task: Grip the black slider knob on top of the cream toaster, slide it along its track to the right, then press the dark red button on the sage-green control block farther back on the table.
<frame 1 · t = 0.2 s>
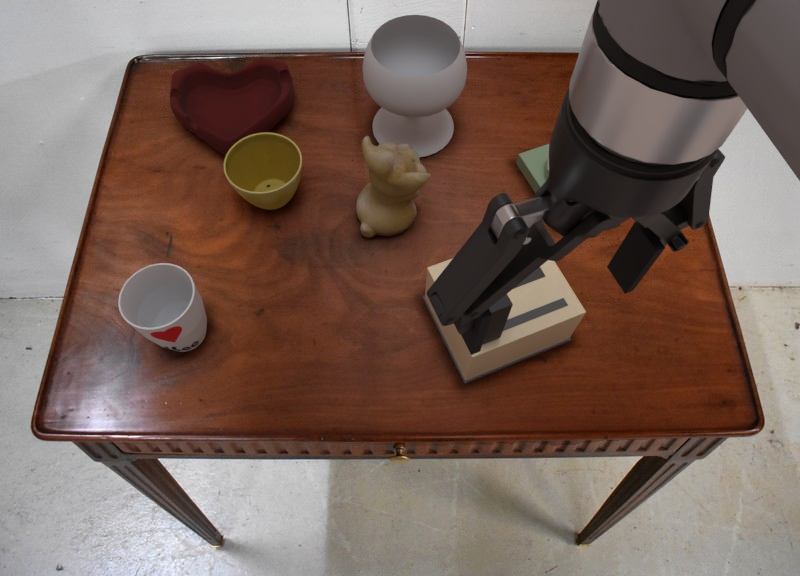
hand: (545, 307, 47), 25 cm above the table, tool pointing down, fingers open, 13 cm apart
figurine: (392, 219, 81), on the table
toaster slider: (490, 316, 61), point 12 cm above the table, slide at 0.0 cm
flower pot: (273, 196, 83), on the table
cup: (186, 333, 73), on the table
start button: (575, 163, 80), point 4 cm above the table, slide at 0.1 cm
chalice: (413, 128, 89), on the table
toaster: (495, 319, 74), on the table
control block: (566, 183, 84), on the table
ashtray: (238, 123, 89), on the table
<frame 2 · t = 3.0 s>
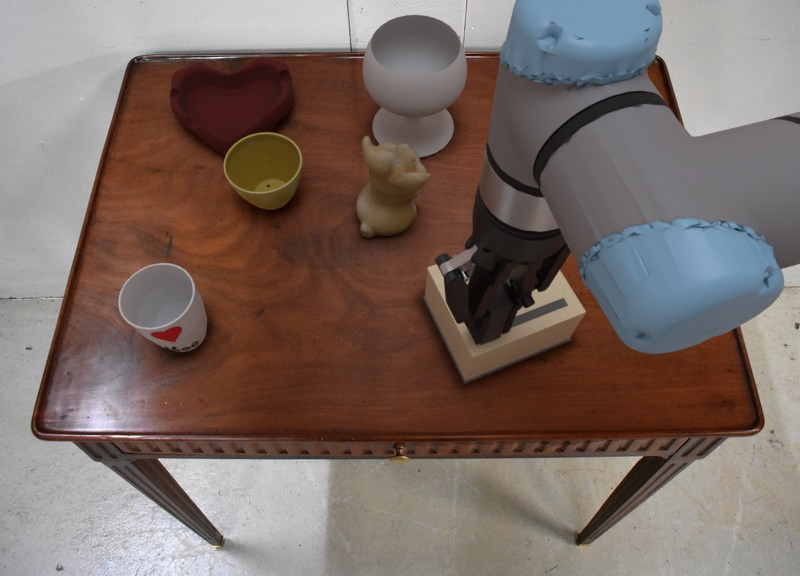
hand: (487, 327, 63), 10 cm above the table, tool pointing down, fingers closed on toaster slider, 2 cm apart
toaster slider: (490, 316, 61), point 12 cm above the table, slide at 0.0 cm, touching gripper
everything else where it was.
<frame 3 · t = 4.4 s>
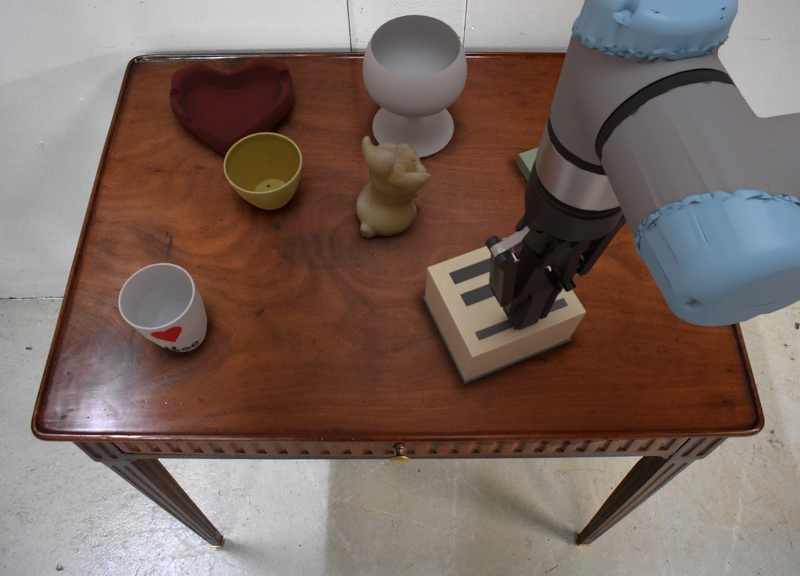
hand: (524, 312, 64), 10 cm above the table, tool pointing down, fingers closed on toaster slider, 2 cm apart
toaster slider: (529, 301, 61), point 12 cm above the table, slide at 4.5 cm, touching gripper
everything else where it was.
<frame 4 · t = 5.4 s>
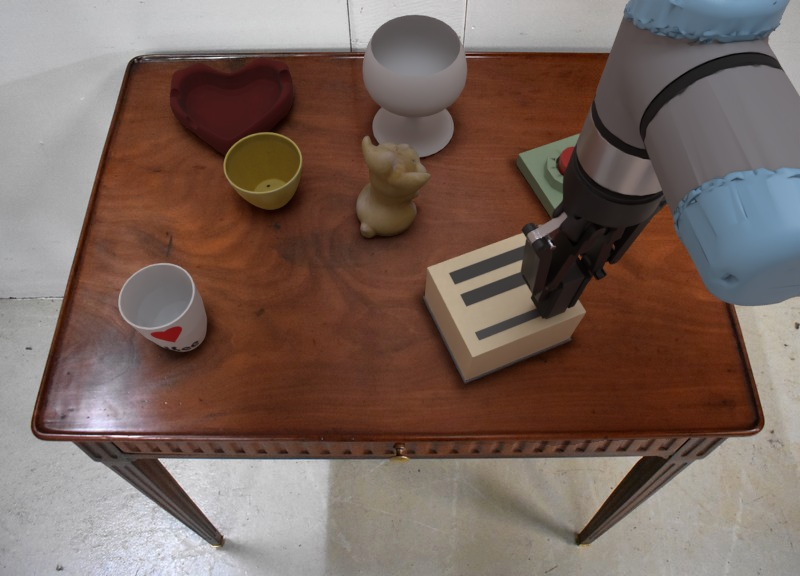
hand: (552, 301, 64), 9 cm above the table, tool pointing down, fingers closed on toaster slider, 2 cm apart
toaster slider: (558, 289, 62), point 12 cm above the table, slide at 7.9 cm, touching gripper
everything else where it was.
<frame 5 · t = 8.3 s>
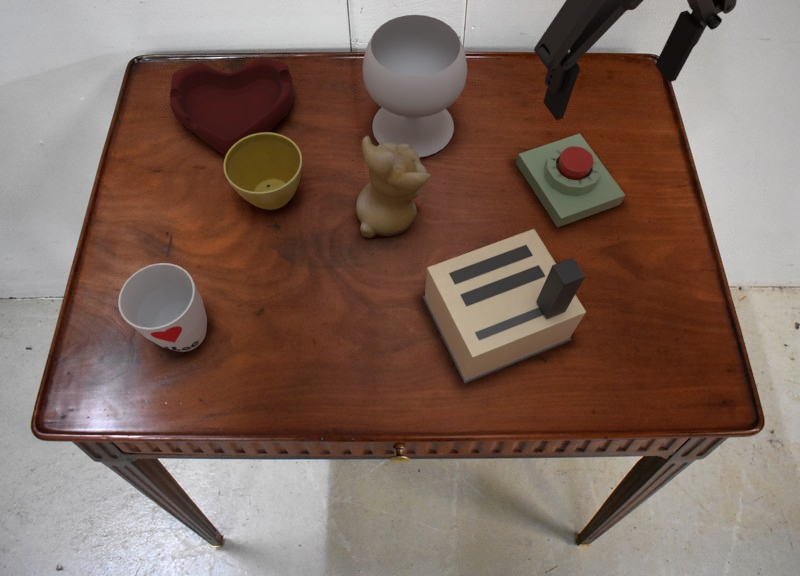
hand: (610, 91, 62), 22 cm above the table, tool pointing down, fingers open, 13 cm apart
toaster slider: (559, 289, 62), point 12 cm above the table, slide at 8.0 cm
everything else where it was.
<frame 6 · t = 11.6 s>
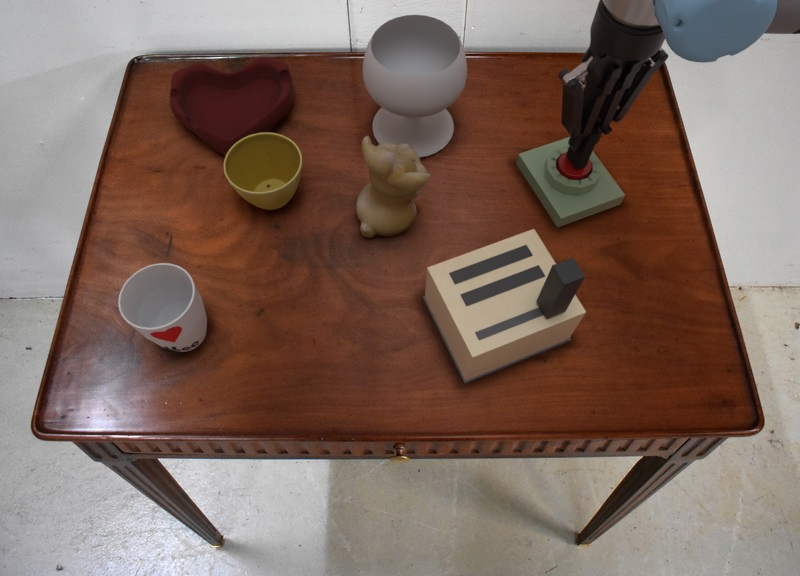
hand: (575, 161, 80), 5 cm above the table, tool pointing down, fingers closed
start button: (573, 167, 81), point 4 cm above the table, slide at -0.7 cm, touching gripper
everything else where it was.
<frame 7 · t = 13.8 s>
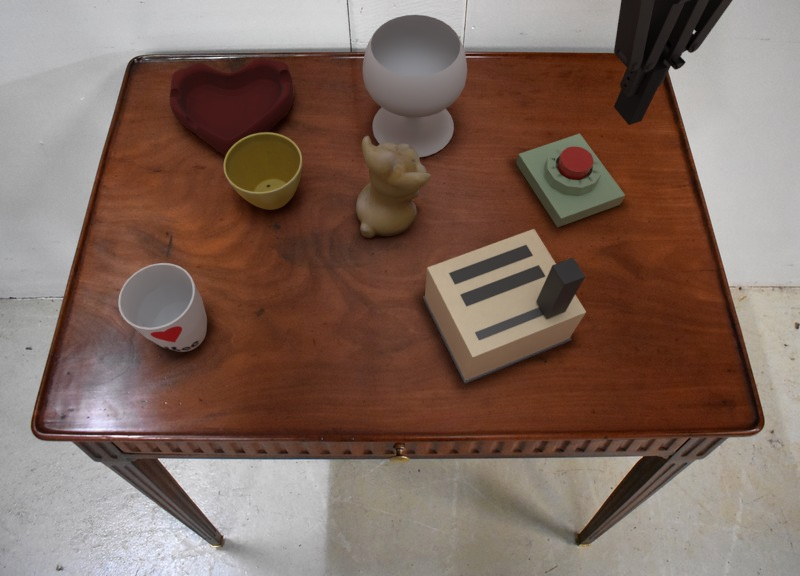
hand: (627, 113, 59), 23 cm above the table, tool pointing down, fingers closed
start button: (575, 163, 80), point 4 cm above the table, slide at 0.1 cm
everything else where it was.
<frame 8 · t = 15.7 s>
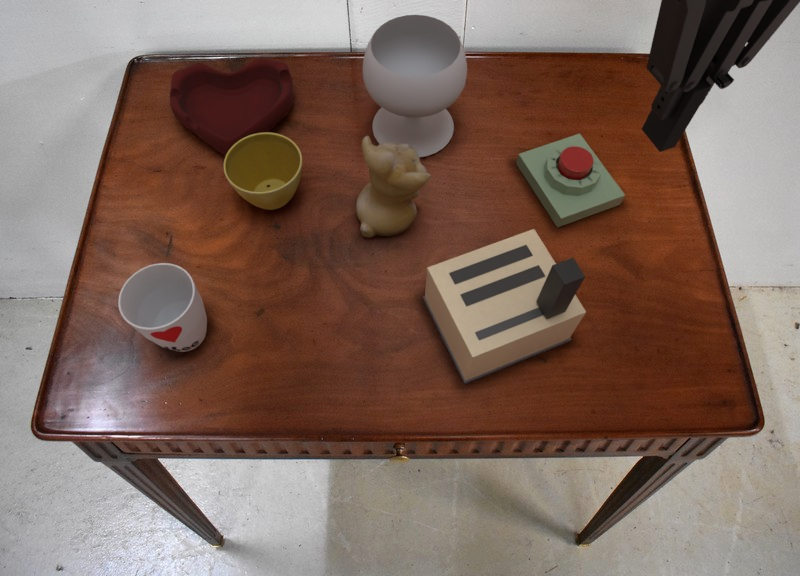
hand: (658, 137, 49), 29 cm above the table, tool pointing down, fingers closed
nothing on the table moved.
at the end: toaster slider slide at 8.0 cm; start button pushed in 1.0 cm at the most during the clip, back to where it started at the end; start button slide at 0.1 cm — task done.
